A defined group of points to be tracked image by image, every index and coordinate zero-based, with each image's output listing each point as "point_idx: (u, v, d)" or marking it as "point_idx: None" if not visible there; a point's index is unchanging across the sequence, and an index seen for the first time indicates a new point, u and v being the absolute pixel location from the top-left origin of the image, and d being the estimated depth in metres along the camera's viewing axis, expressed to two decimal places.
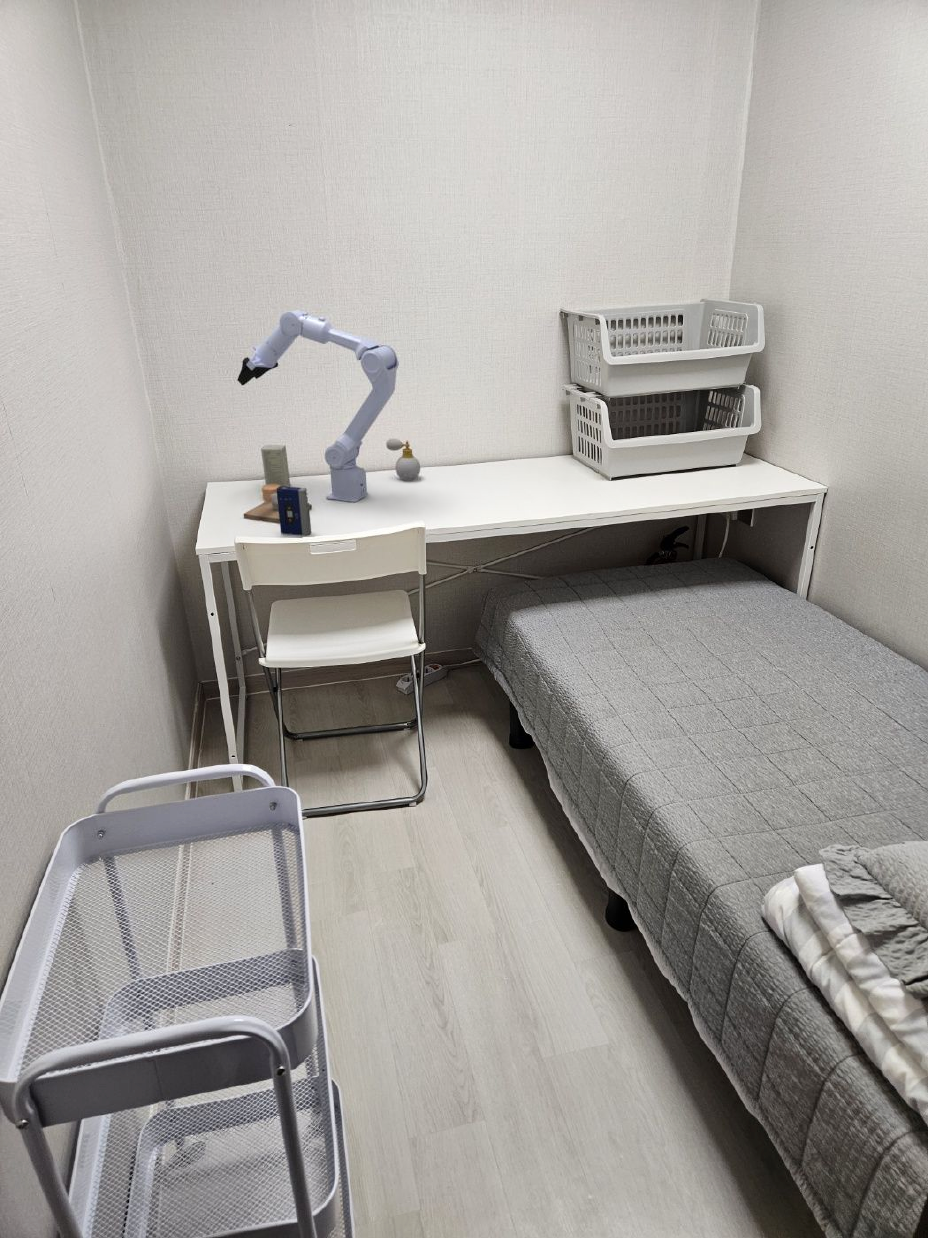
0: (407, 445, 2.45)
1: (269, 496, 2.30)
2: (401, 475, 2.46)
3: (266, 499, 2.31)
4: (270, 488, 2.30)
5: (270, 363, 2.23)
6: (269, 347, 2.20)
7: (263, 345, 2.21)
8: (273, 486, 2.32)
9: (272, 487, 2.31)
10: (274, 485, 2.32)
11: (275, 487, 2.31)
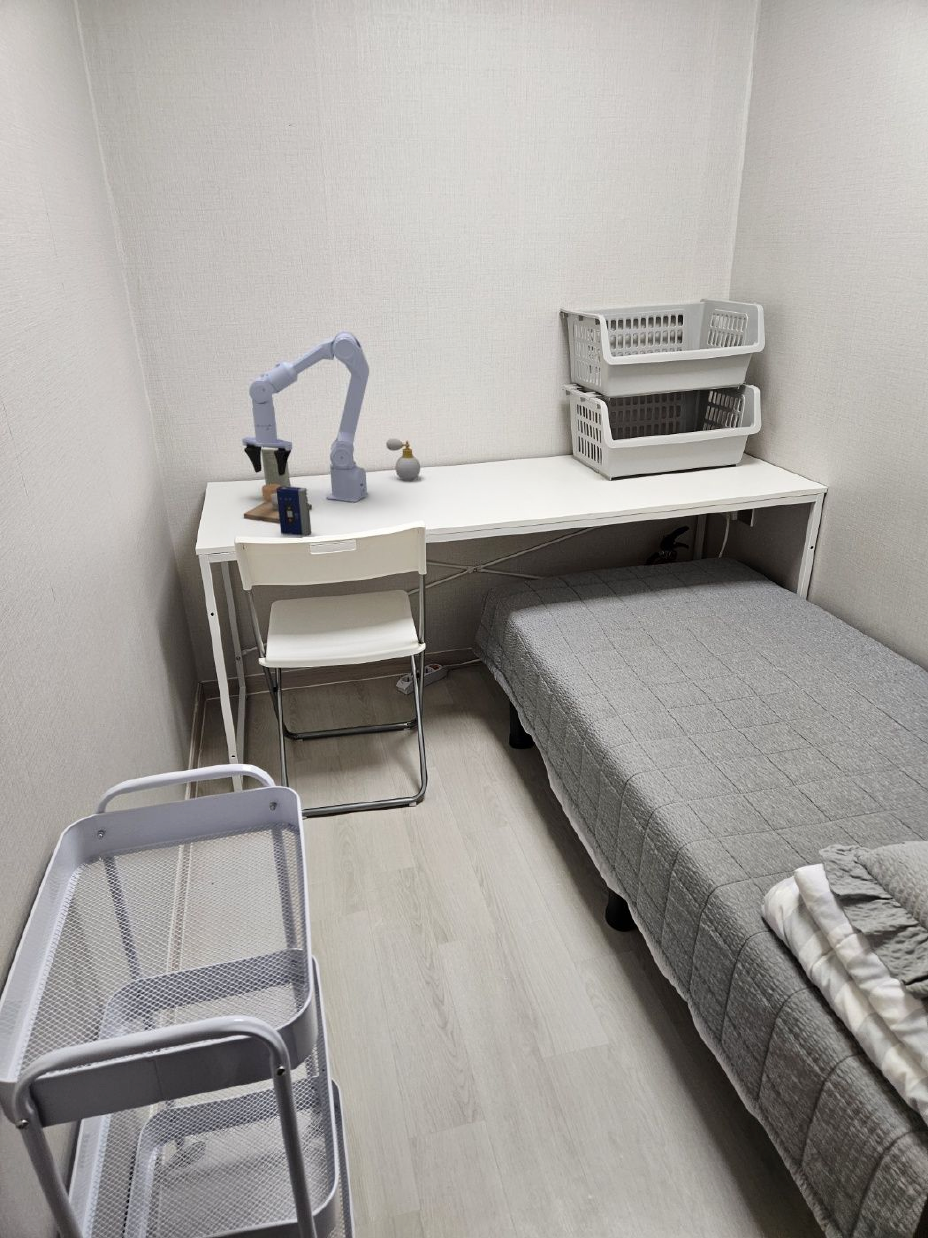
0: (407, 445, 2.45)
1: (269, 496, 2.30)
2: (401, 475, 2.46)
3: (266, 499, 2.31)
4: (270, 488, 2.30)
5: None
6: (273, 425, 2.22)
7: (268, 431, 2.22)
8: (273, 486, 2.32)
9: (272, 487, 2.31)
10: (274, 485, 2.32)
11: (275, 487, 2.31)
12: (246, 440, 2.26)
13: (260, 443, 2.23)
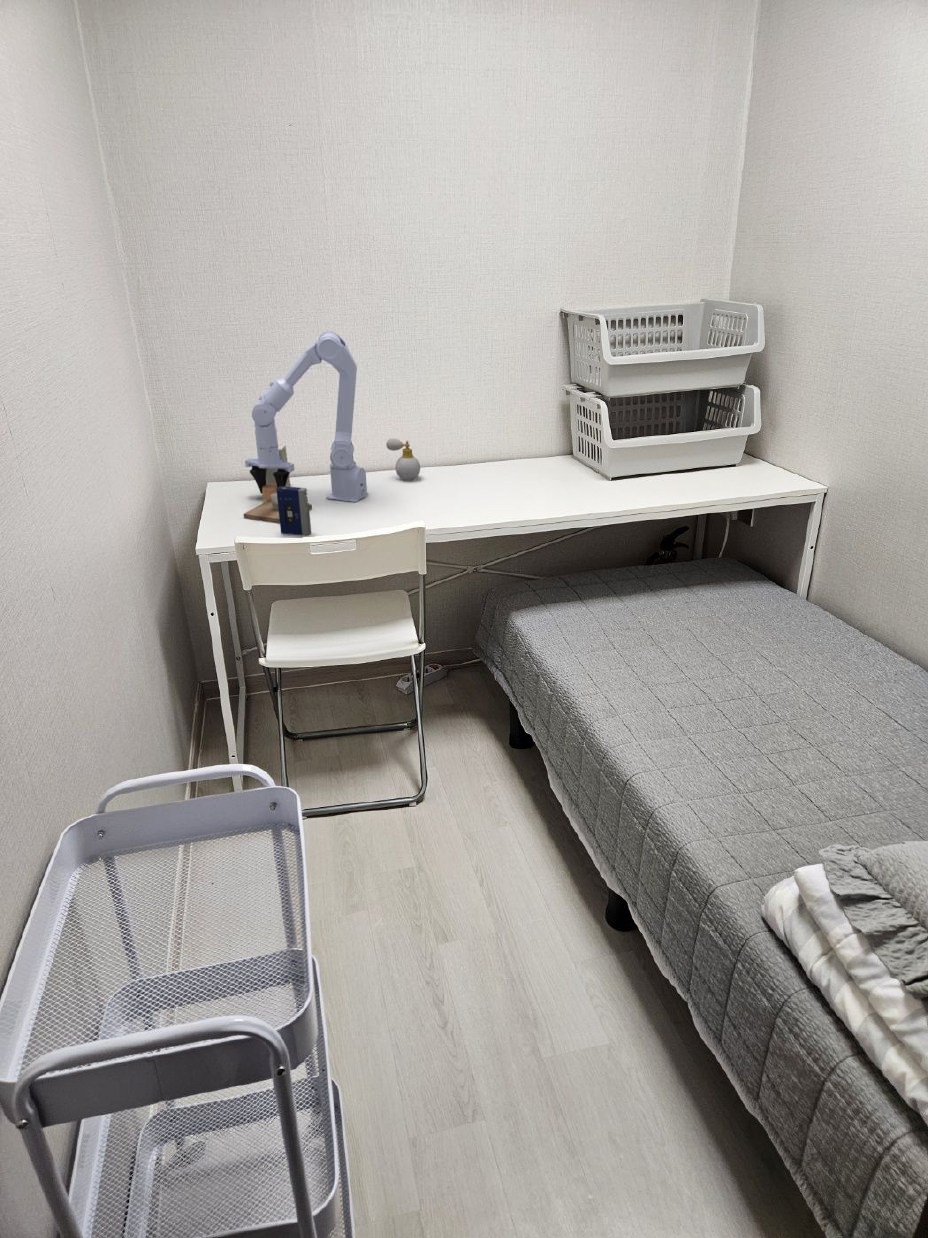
0: (407, 445, 2.45)
1: (269, 496, 2.30)
2: (401, 475, 2.46)
3: (266, 499, 2.31)
4: (270, 488, 2.30)
5: None
6: (276, 447, 2.25)
7: (270, 453, 2.25)
8: (273, 486, 2.32)
9: (272, 487, 2.31)
10: (274, 485, 2.32)
11: (275, 487, 2.31)
12: (249, 461, 2.29)
13: (262, 465, 2.25)
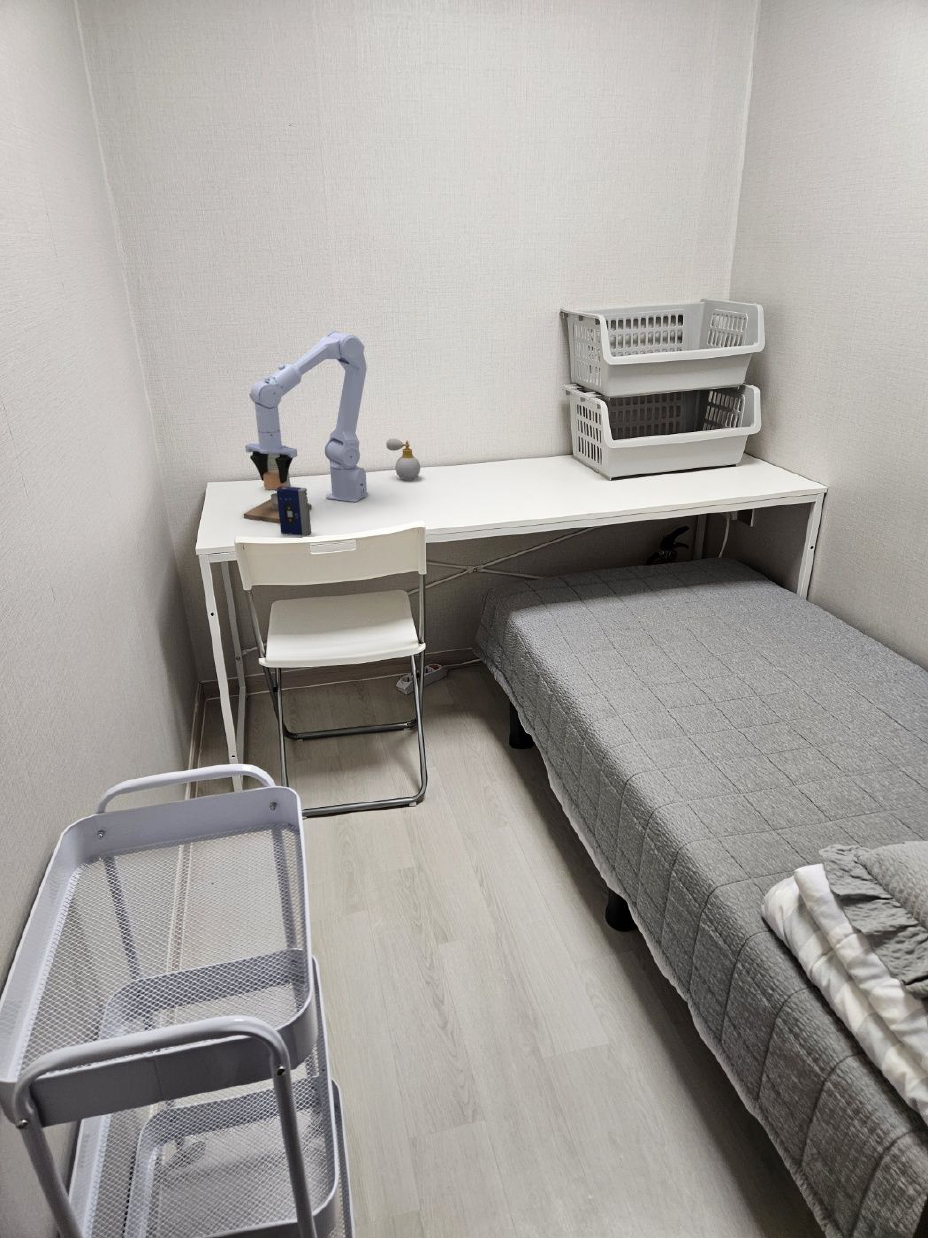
0: (407, 445, 2.45)
1: (270, 483, 2.17)
2: (401, 475, 2.46)
3: (267, 486, 2.18)
4: (272, 475, 2.17)
5: None
6: (278, 431, 2.13)
7: (272, 438, 2.12)
8: (275, 473, 2.19)
9: (273, 474, 2.18)
10: (276, 472, 2.19)
11: (277, 474, 2.18)
12: (249, 447, 2.17)
13: (264, 450, 2.13)
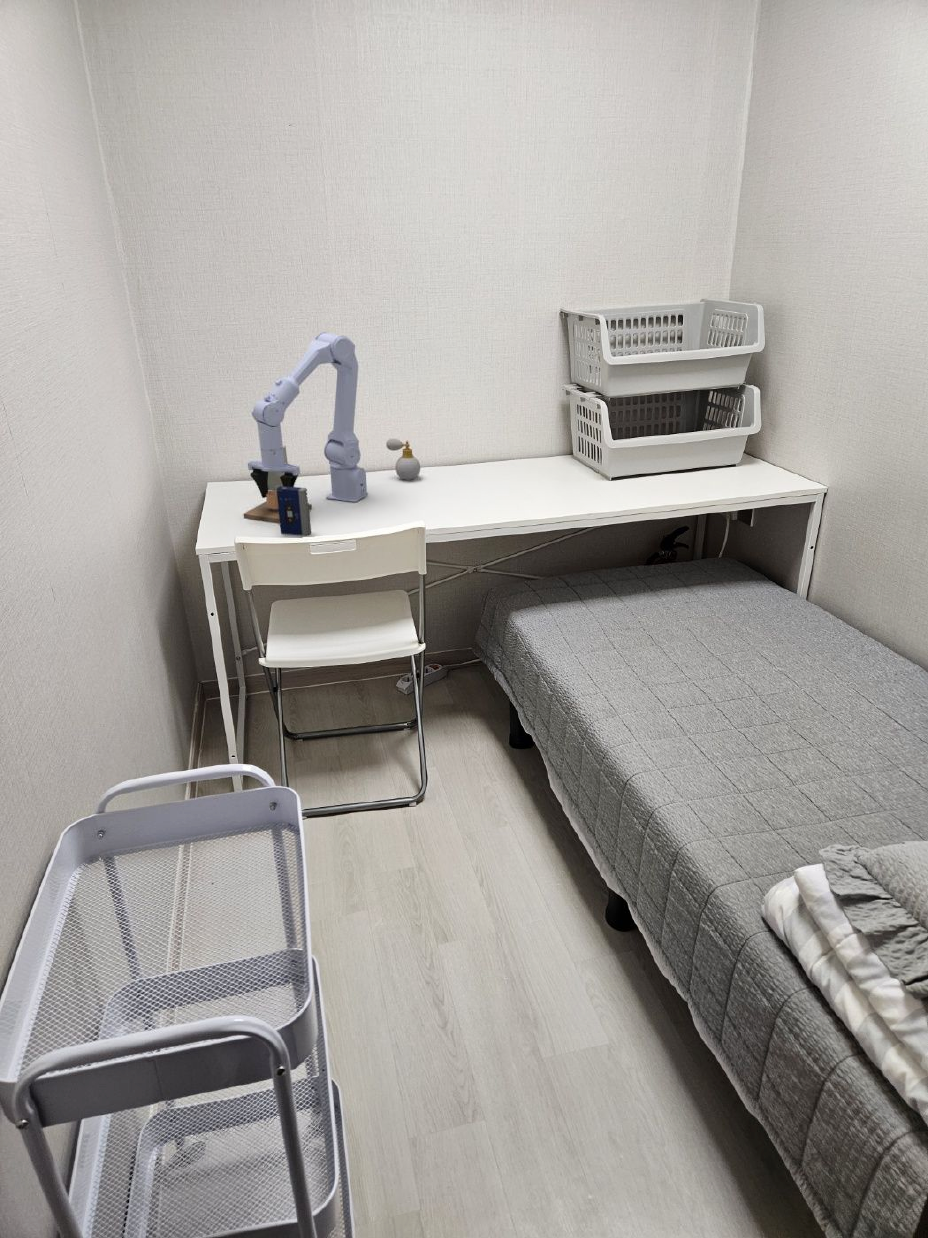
0: (407, 445, 2.45)
1: (273, 503, 2.18)
2: (401, 475, 2.46)
3: (270, 506, 2.19)
4: (275, 495, 2.18)
5: None
6: (280, 449, 2.13)
7: (275, 456, 2.12)
8: None
9: (276, 494, 2.19)
10: None
11: None
12: (252, 464, 2.17)
13: (266, 468, 2.13)
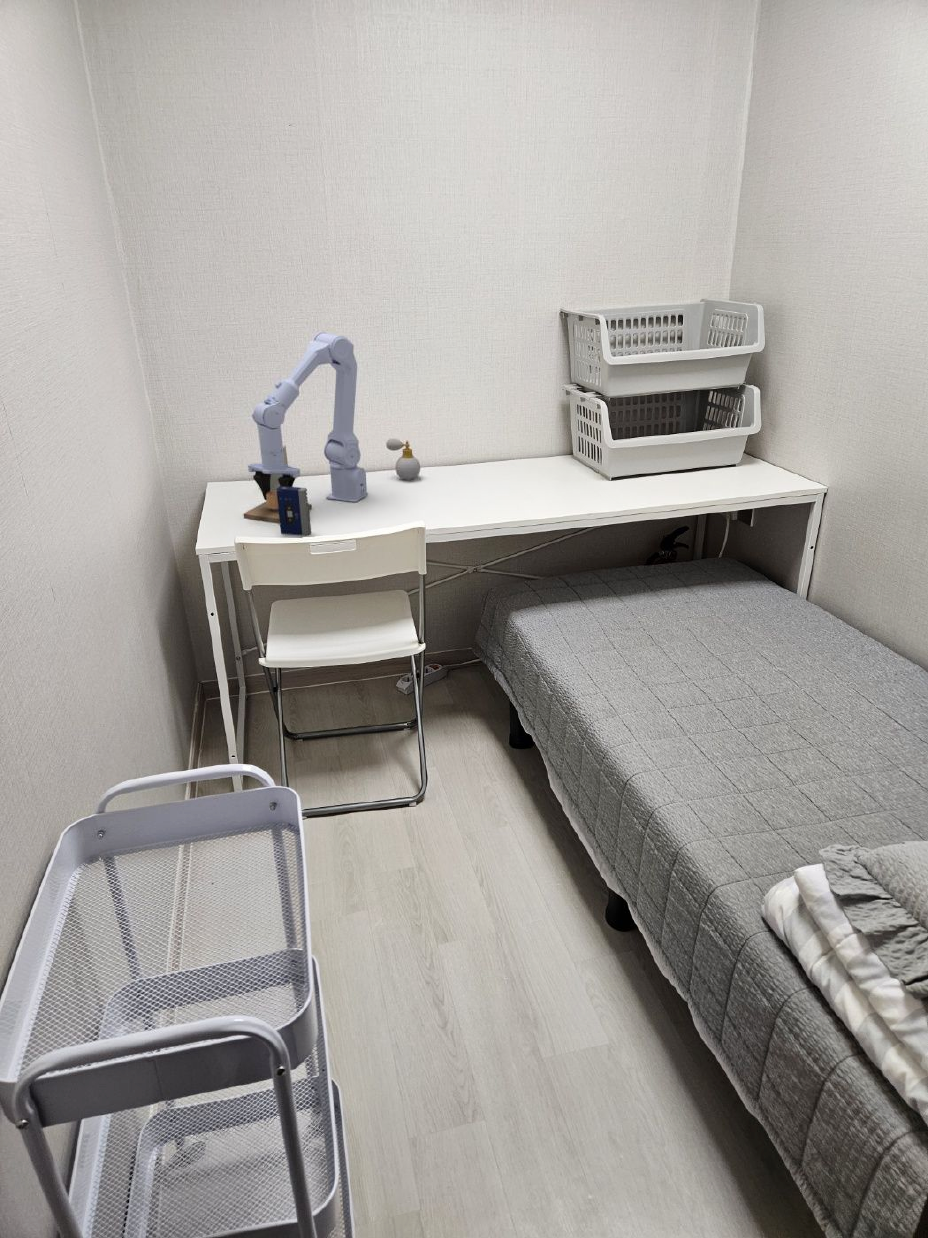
0: (407, 445, 2.45)
1: (273, 503, 2.18)
2: (401, 475, 2.46)
3: (270, 506, 2.19)
4: (275, 495, 2.18)
5: None
6: (280, 451, 2.13)
7: (275, 458, 2.13)
8: None
9: (276, 494, 2.19)
10: None
11: None
12: (252, 467, 2.17)
13: (267, 470, 2.13)
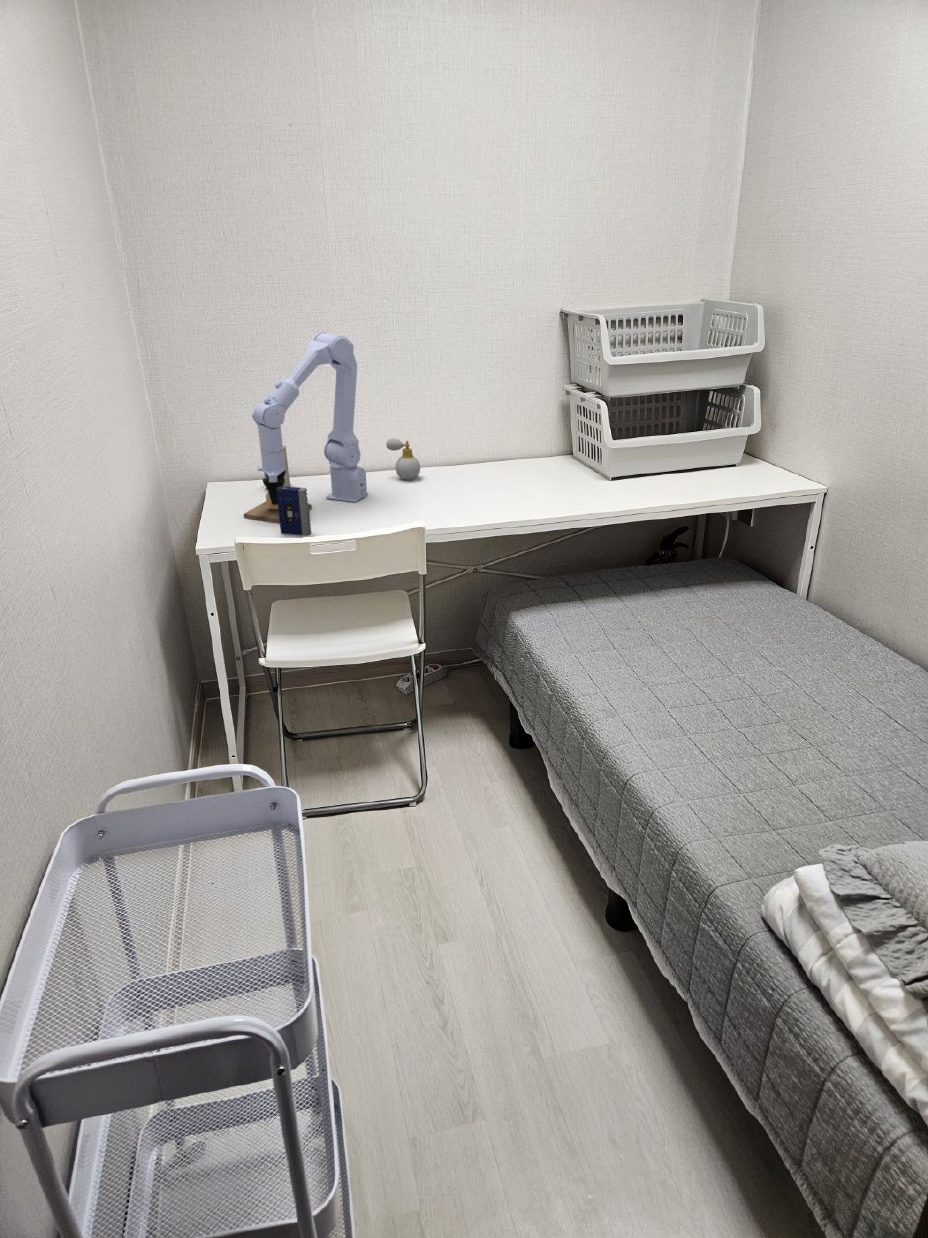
0: (407, 445, 2.45)
1: None
2: (401, 475, 2.46)
3: None
4: None
5: (282, 466, 2.15)
6: (270, 453, 2.12)
7: (264, 458, 2.13)
8: None
9: None
10: None
11: None
12: None
13: (260, 467, 2.16)
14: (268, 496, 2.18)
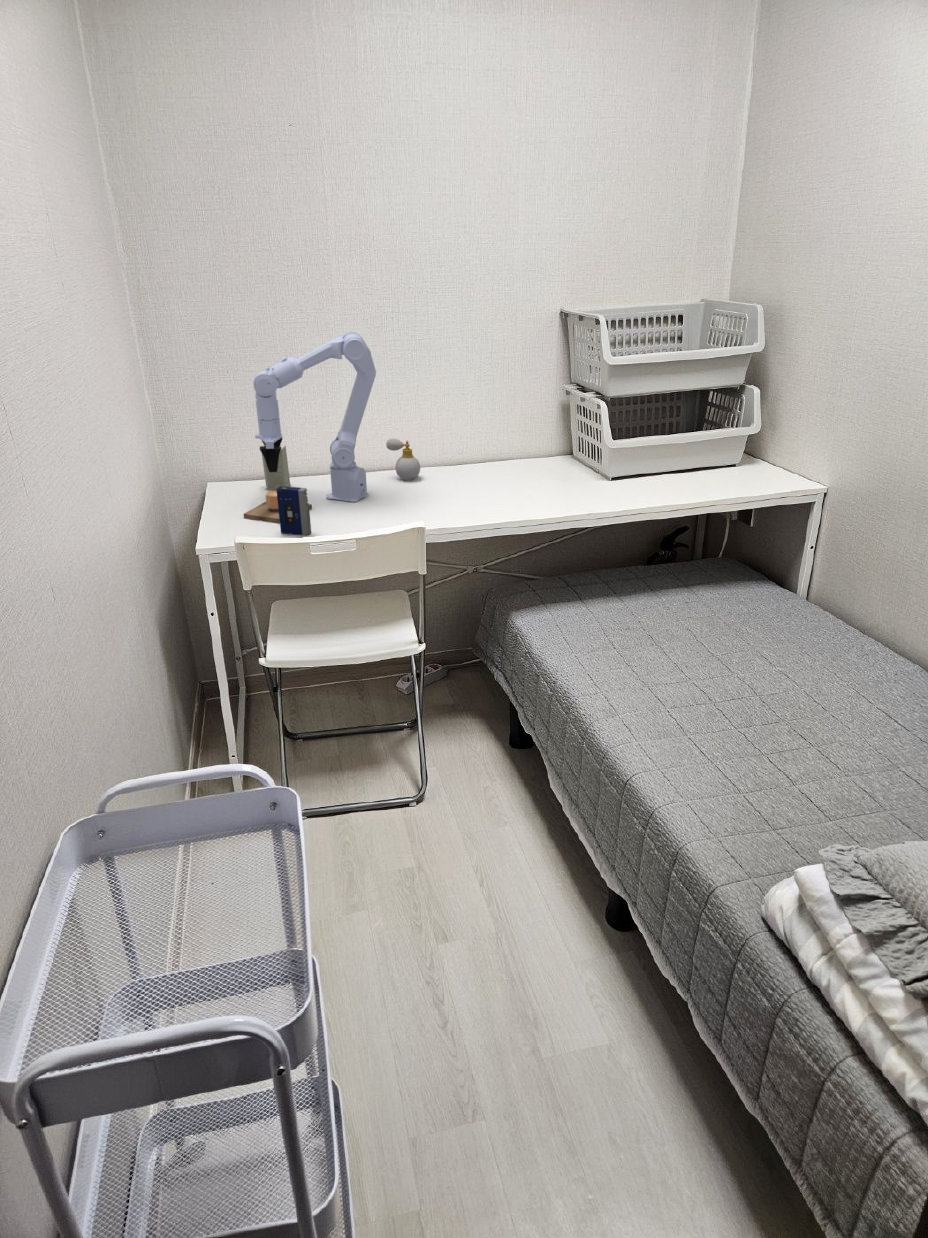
0: (407, 445, 2.45)
1: None
2: (401, 475, 2.46)
3: None
4: (270, 491, 2.20)
5: (278, 433, 2.22)
6: (267, 420, 2.19)
7: (261, 425, 2.20)
8: (275, 493, 2.19)
9: (273, 492, 2.20)
10: (276, 493, 2.19)
11: (271, 493, 2.19)
12: None
13: (257, 435, 2.22)
14: (268, 496, 2.18)
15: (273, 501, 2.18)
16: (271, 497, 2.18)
